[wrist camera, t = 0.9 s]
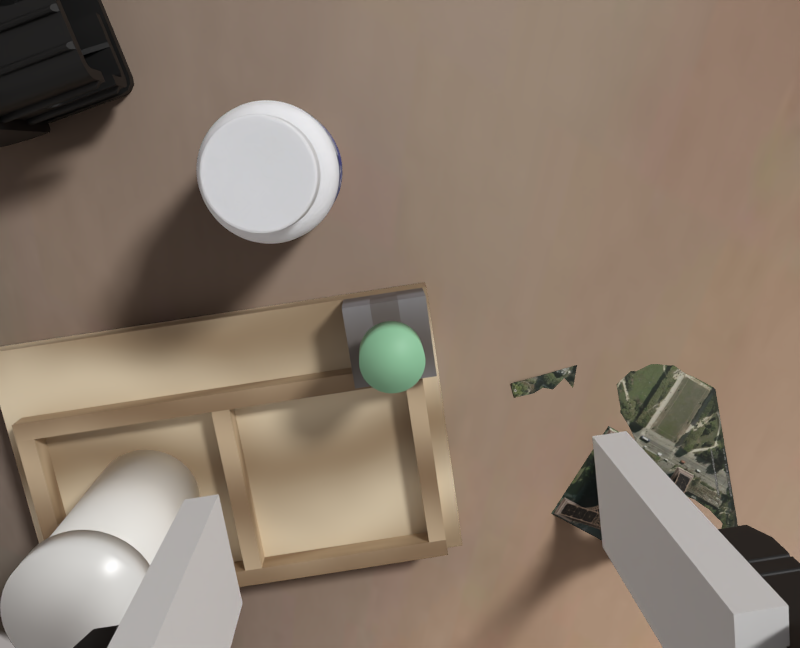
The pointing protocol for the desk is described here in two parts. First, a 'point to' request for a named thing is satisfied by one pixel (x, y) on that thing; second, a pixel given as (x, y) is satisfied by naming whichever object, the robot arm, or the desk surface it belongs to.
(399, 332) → the button
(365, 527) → the wooden compartment tray
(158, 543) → the seated billet
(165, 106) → the desk surface
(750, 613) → the robot arm
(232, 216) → the pill bottle
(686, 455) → the eiffel tower figurine
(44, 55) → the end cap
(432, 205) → the desk surface
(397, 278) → the desk surface
